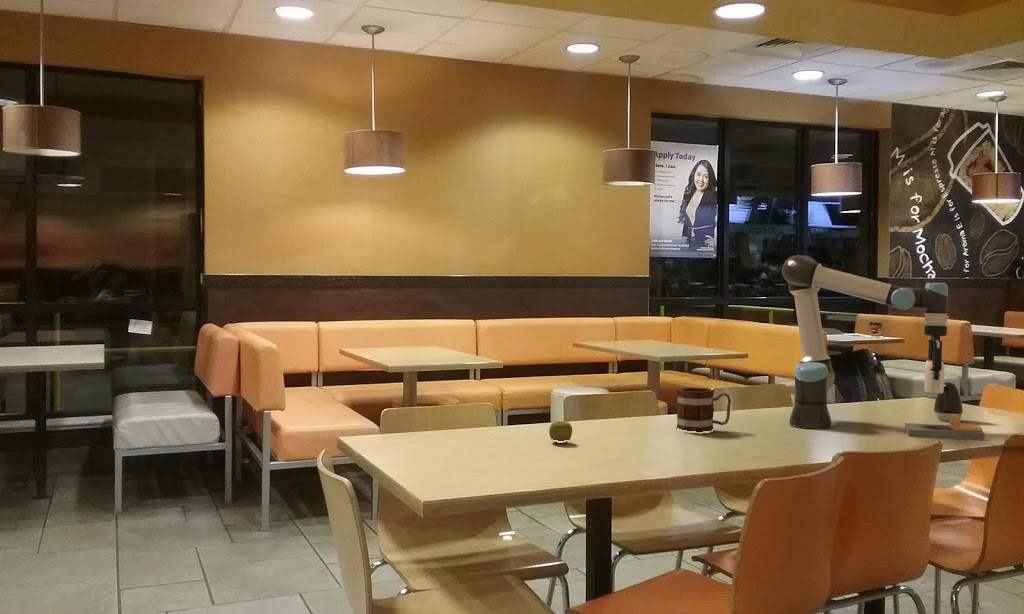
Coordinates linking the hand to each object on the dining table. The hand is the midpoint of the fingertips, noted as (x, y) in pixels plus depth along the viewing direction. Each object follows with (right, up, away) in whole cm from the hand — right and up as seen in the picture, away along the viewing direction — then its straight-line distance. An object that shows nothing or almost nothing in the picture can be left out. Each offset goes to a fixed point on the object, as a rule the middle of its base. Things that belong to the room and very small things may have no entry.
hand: (933, 387), depth 335 cm
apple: (-139, -17, -28) cm, 142 cm away
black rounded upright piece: (+15, -15, +21) cm, 30 cm away
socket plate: (-2, -16, -11) cm, 19 cm away
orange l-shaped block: (+5, -14, -13) cm, 19 cm away
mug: (-85, -16, -3) cm, 87 cm away
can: (0, -2, 0) cm, 2 cm away
